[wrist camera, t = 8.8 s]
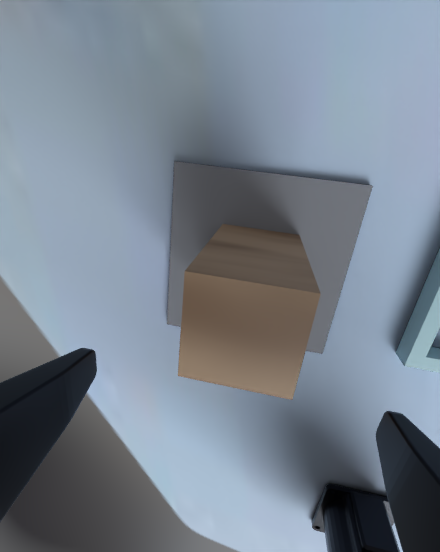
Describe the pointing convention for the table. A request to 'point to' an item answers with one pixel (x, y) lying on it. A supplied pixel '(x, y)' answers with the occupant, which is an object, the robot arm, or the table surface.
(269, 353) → the oak block
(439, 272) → the pocket frame
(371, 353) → the table surface
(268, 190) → the pad
